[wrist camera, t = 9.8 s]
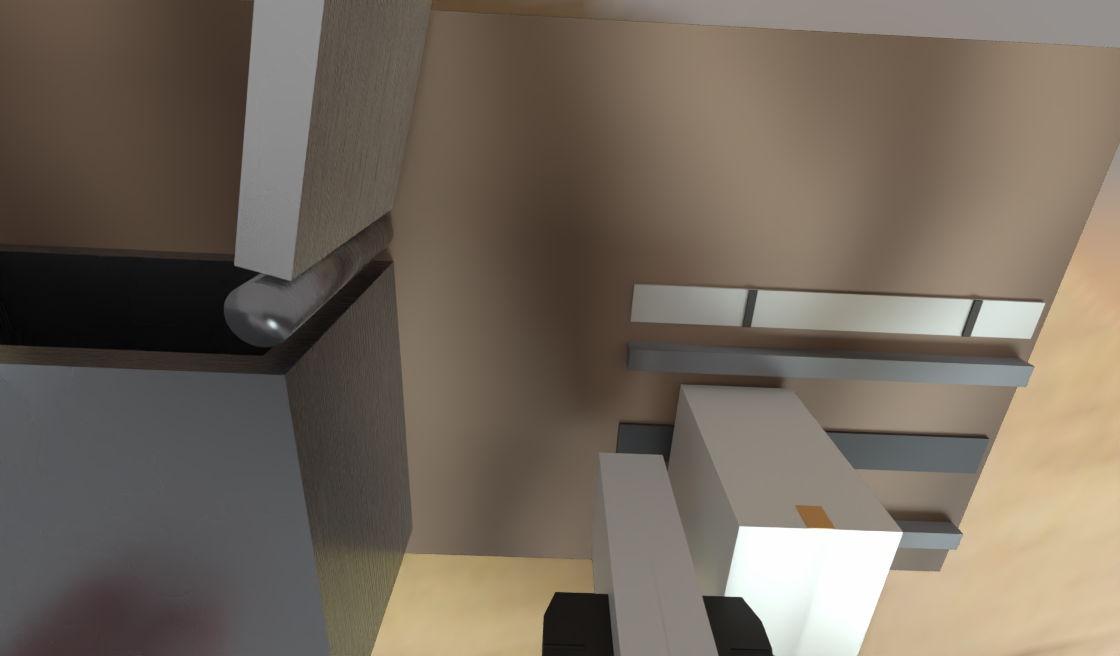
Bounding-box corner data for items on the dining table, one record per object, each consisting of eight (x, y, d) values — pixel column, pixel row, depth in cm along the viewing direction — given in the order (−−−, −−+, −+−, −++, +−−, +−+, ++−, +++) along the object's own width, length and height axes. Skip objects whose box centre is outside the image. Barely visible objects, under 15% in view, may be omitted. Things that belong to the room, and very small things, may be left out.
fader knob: (662, 503, 17) (706, 676, 12) (680, 383, 15) (739, 525, 10) (763, 507, 17) (847, 680, 12) (791, 388, 15) (903, 531, 10)
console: (117, 508, 19) (69, 554, 17) (-54, -9, 13) (-156, -26, 11) (912, 537, 19) (949, 584, 17) (1096, 53, 13) (1182, 48, 12)
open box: (81, 516, 17) (-149, 723, 11) (-19, 242, 14) (-411, 346, 8) (412, 528, 17) (343, 736, 12) (393, 261, 14) (284, 375, 8)
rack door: (432, -296, 10) (295, -715, 5) (538, -254, 10) (516, -609, 5) (348, 244, 13) (221, 337, 8) (426, 266, 14) (348, 369, 9)
